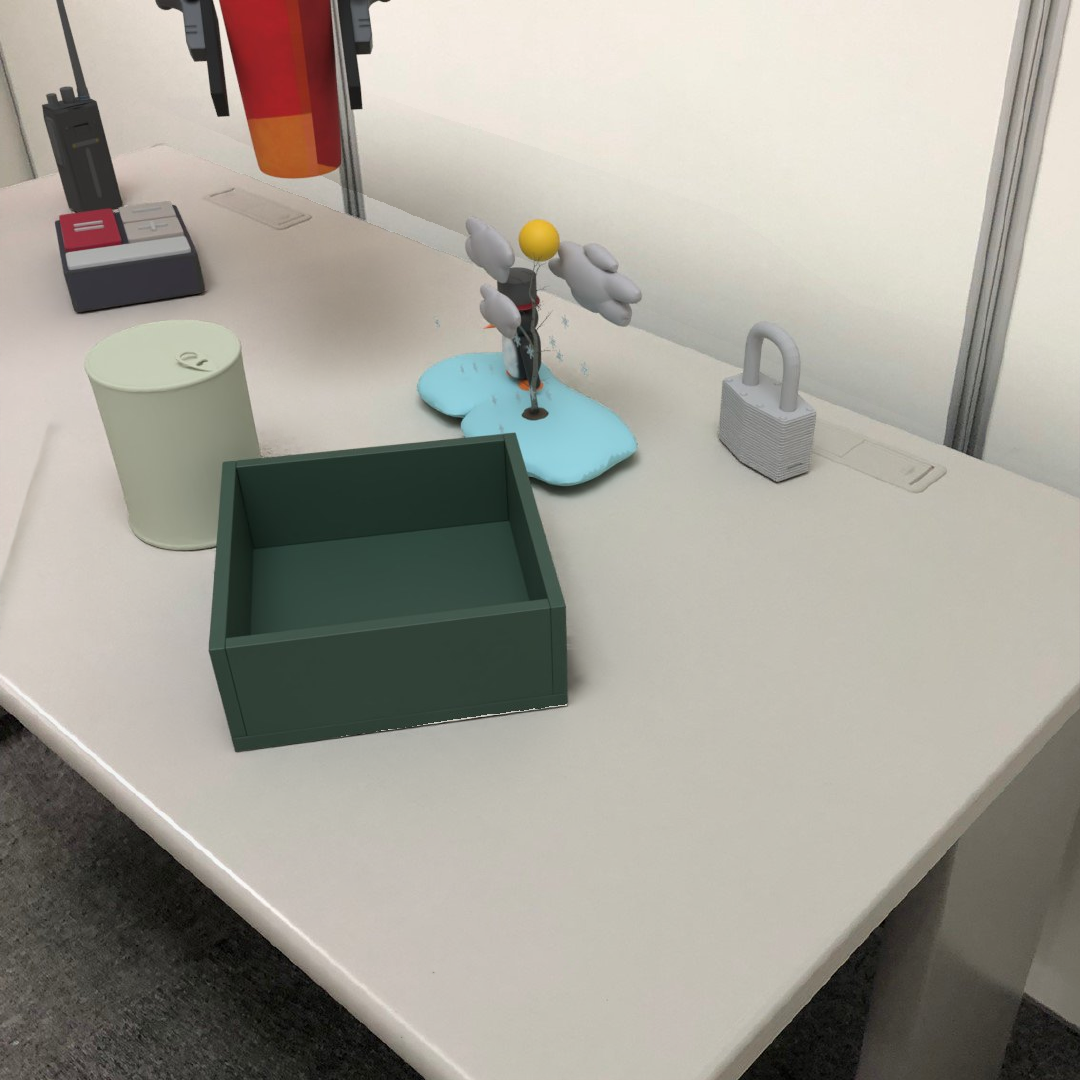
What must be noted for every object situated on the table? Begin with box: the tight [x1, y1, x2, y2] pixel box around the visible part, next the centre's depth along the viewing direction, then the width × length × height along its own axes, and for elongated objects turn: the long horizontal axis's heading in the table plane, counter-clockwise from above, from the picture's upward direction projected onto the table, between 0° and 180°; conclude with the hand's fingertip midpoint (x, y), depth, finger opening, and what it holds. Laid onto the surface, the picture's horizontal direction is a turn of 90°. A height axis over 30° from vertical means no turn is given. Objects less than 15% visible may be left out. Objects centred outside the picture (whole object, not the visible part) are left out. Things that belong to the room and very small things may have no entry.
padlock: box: [717, 320, 818, 483], centre depth 83 cm, size 7×4×10 cm, turn 31°
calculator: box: [54, 200, 206, 313], centre depth 109 cm, size 11×4×15 cm
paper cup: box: [218, 0, 342, 180], centre depth 78 cm, size 8×8×14 cm
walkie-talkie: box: [41, 0, 123, 213], centre depth 117 cm, size 5×3×20 cm
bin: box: [207, 433, 569, 753], centre depth 69 cm, size 18×18×7 cm
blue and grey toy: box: [416, 216, 643, 487], centre depth 84 cm, size 20×11×15 cm, turn 32°
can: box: [83, 319, 263, 551], centre depth 77 cm, size 9×9×12 cm
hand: (288, 101), depth 77 cm, fingers closed on paper cup, 8 cm apart
